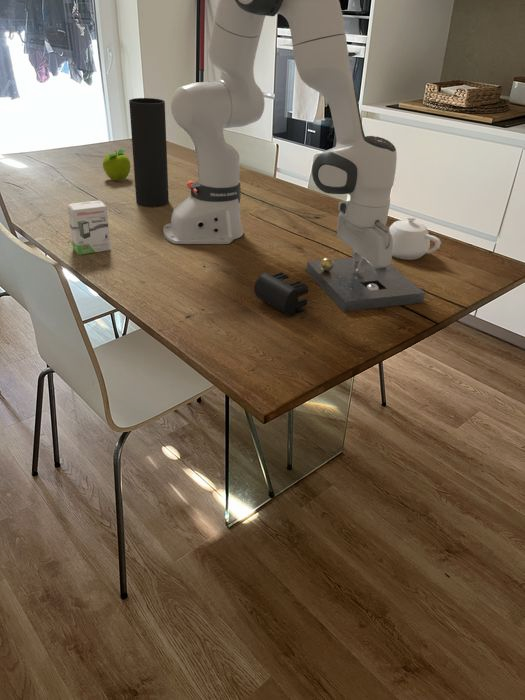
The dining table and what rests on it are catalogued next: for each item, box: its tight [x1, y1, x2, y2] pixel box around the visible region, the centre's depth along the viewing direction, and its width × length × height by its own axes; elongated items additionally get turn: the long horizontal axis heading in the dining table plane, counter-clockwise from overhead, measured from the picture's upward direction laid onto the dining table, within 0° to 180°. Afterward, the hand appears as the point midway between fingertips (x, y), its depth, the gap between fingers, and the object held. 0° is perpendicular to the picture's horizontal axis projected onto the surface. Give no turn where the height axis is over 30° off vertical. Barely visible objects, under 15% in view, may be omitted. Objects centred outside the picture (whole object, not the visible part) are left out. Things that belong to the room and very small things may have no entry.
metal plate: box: [306, 257, 426, 313], centre depth 134 cm, size 20×22×2 cm
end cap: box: [253, 271, 309, 317], centre depth 121 cm, size 10×7×7 cm
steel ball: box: [366, 283, 379, 291], centre depth 129 cm, size 3×3×3 cm
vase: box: [128, 97, 170, 208], centre depth 172 cm, size 10×10×30 cm
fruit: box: [102, 149, 131, 182], centre depth 196 cm, size 9×9×10 cm
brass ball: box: [320, 257, 334, 271], centre depth 134 cm, size 3×3×3 cm
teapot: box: [388, 215, 442, 261], centre depth 151 cm, size 20×12×10 cm, turn 45°
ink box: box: [67, 200, 111, 256], centre depth 142 cm, size 9×5×12 cm, turn 122°
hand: (358, 270), depth 134 cm, fingers closed
